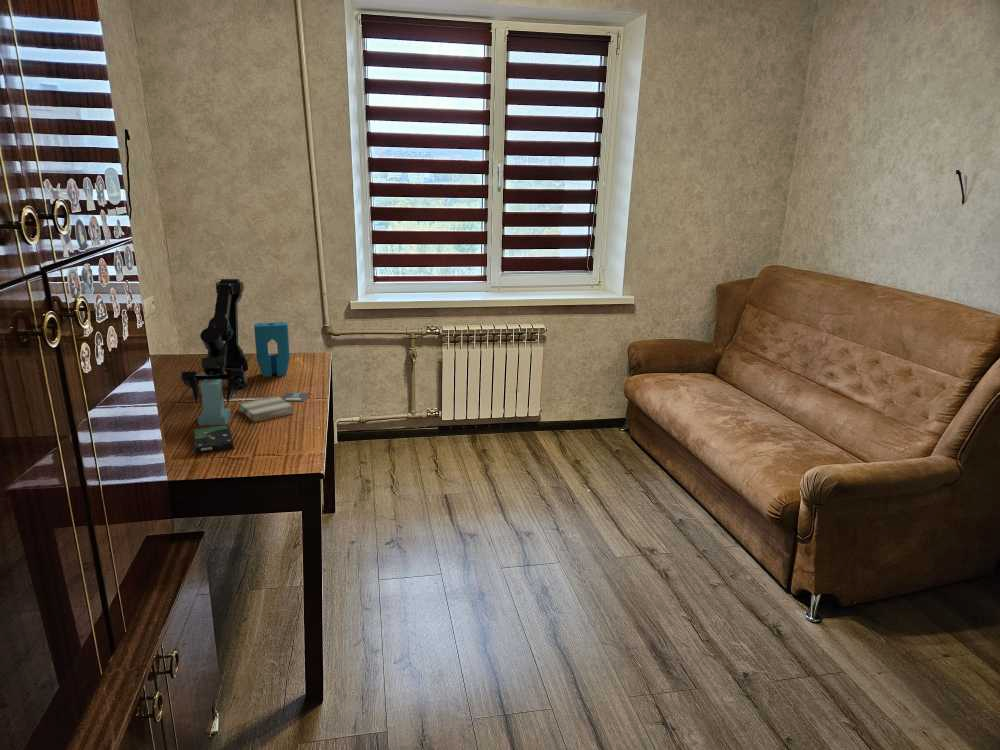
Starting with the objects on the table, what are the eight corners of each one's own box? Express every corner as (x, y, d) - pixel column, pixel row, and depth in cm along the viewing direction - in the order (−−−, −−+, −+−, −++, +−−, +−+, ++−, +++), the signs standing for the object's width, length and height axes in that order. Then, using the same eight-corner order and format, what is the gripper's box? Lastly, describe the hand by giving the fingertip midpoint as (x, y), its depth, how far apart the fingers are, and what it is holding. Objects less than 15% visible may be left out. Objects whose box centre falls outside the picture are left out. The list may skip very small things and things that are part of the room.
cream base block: (239, 411, 221) (239, 403, 220) (277, 403, 229) (277, 395, 228) (254, 423, 212) (253, 414, 211) (293, 414, 220) (292, 406, 219)
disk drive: (235, 450, 192) (229, 431, 205) (234, 442, 191) (228, 423, 204) (196, 456, 188) (192, 436, 200) (195, 447, 187) (191, 428, 199)
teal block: (204, 416, 215) (200, 378, 211) (230, 415, 216) (227, 377, 212) (198, 425, 207) (194, 386, 203) (225, 424, 209) (221, 385, 205)
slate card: (286, 393, 237) (286, 392, 237) (308, 394, 238) (308, 392, 238) (280, 401, 230) (280, 400, 230) (303, 401, 230) (303, 400, 230)
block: (290, 371, 262) (287, 322, 256) (290, 375, 257) (287, 325, 251) (258, 373, 258) (254, 323, 252) (258, 377, 253) (254, 326, 247)
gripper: (179, 346, 207) (172, 391, 200) (241, 345, 210) (238, 389, 203) (188, 363, 216) (182, 406, 209) (248, 362, 220) (244, 405, 213)
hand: (211, 401), depth 208 cm, fingers open, 9 cm apart
